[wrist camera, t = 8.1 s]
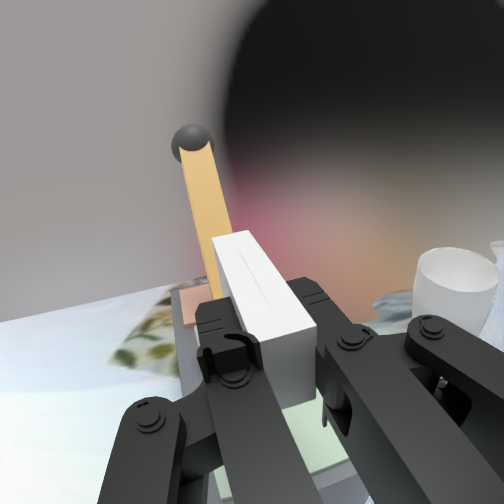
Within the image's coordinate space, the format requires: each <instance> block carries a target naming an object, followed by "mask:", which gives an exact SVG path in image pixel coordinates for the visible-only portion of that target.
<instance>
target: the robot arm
mask: <svg viewBox="0 0 504 504" xmlns="http://www.w3.org/2000/svg"><path fill="white" fill-rule="evenodd" d="M212 243H213V249H214V254H215V259H216V264H217V269H218V274H219V279H220V284H221V289H222V294H223V298H220V299H216V300H212V301H207V302H203V303H199V305H198V307H197V310H196V312H195V319H196V325H197V331H198V336H199V342H200V346H199V348H198V349H197V360H198V363H199V366H200V369H201V372H202V375H203V381H202V382H201V384H200V385H199V387H198V388H197V389H196V390H194V391H193V392H192V393H190V394H189V395H187V396H185V397H183V398H181V399H179V400H177V401H175V402H171V401H170V400H168V399H166V398H162V397H156V396H155V397H147V398H143V399H141V400H139V401H137V402H134V403H133V404H132V405H131V406H130V407H129V408H128V409H127V410H126V411H125V413H124V415H123V417H122V419H121V422H120V426H119V429H118V432H117V435H116V438H115V442H114V445H113V448H112V452H111V455H110V459H109V462H108V465H107V469H106V473H105V476H104V480H103V483H102V487H101V491H100V495H99V499H98V502H97V504H207V497H208V483H209V473H210V472H212V471H214V470H216V469H217V468H219V467H221V466H223V465H224V467H225V471H226V475H227V479H228V482H229V486H230V490H231V493H232V497H233V501H234V504H324V503H323V501H322V499H321V497H320V495H319V492H318V490H317V488H316V486H315V484H314V482H313V480H312V477H311V475H310V473H309V471H308V469H307V467H306V464H305V462H304V460H303V458H302V456H301V453H300V451H299V449H298V447H297V444H296V442H295V440H294V438H293V435H292V433H291V431H290V429H289V426H288V424H287V422H286V420H285V417H284V415H283V413H282V410H283V409H286V408H290V407H293V406H296V405H299V404H302V403H305V402H308V401H311V400H314V399H316V387H317V389H318V391H319V392H320V394H321V396H322V398H323V409H322V425H323V428H324V427H327V420H328V421H329V423H330V424H331V426H332V428H333V430H334V432H335V434H336V435H337V437H338V439H339V441H340V443H341V444H342V446H343V448H344V450H345V452H346V453H347V455H348V457H349V459H350V461H351V462H352V464H353V466H354V468H355V470H356V471H357V473H358V475H359V477H360V478H361V480H362V482H363V484H364V486H365V487H366V489H367V491H368V493H369V494H370V496H371V498H372V500H373V502H374V503H375V504H504V352H502V351H500V350H498V349H497V348H495V347H493V346H492V345H490V344H488V343H487V342H485V341H483V340H481V339H480V338H478V337H476V336H475V335H473V334H471V333H469V332H468V331H466V330H464V329H462V328H461V327H459V326H457V325H455V324H454V323H452V322H450V321H448V320H447V319H445V318H442V317H440V316H437V315H430V314H427V315H420V316H418V317H416V318H413V319H412V320H411V322H410V323H409V324H408V329H407V333H399V334H391V335H378V334H377V333H376V332H375V331H373V330H372V329H371V328H369V327H367V326H364V325H361V324H352V322H350V320H349V319H348V318H347V317H346V316H345V314H344V313H343V312H342V311H341V310H340V309H339V308H338V306H337V305H336V304H335V303H334V302H333V301H332V300H330V297H329V296H328V295H327V294H326V293H324V290H323V289H322V288H321V287H320V286H319V285H318V284H317V283H316V282H314V281H312V280H310V279H308V278H306V277H302V278H298V279H294V280H290V281H286V282H285V280H284V279H283V278H282V276H281V275H280V274H279V272H278V271H277V270H276V268H275V267H274V265H273V264H272V262H271V261H270V260H269V258H268V257H267V256H266V254H265V253H264V251H263V250H262V249H261V248H260V246H259V244H258V243H257V242H256V240H255V239H254V238H253V236H252V235H251V233H250V232H249V231H248V230H246V231H242V232H237V233H232V234H227V235H223V236H218V237H213V238H212ZM441 377H442V378H444V379H445V380H447V381H448V383H447V384H444V383H441V382H439V380H440V378H441Z"/></svg>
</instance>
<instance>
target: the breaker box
mask: <svg viewBox="0 0 504 504" xmlns="http://www.w3.org/2000/svg"><path fill="white" fill-rule="evenodd" d="M170 293H171V304H172V314H173V324H174V334H175V342H176V351H177V359H178V366H179V374H180V381H181V388H182V395H183V397H185V396H187V395H189V394H190V393H192V392H193V391H194V390H196V389H197V388H198V387H199V385H200V384H201V382H202V381H203V375H202V372H201V369H200V366H199V363H198V360H197V349H198V348H199V347H198V343H197V339H196V335H195V331H194V326H196V319H195V312H196V310H197V307H198V305H199V303H203V302H207V301H212V300H213V299H212V295H211V291H210V287H209V283H208V282H207V283H203V284H199V285H194V286H190V287H186V288H182V289H177V290H173V291H170ZM322 409H323V398H322V396H321V394H320V392H319V391H318V389H317V387H316V399H314V400H311V401H308V402H305V403H302V404H299V405H296V406H293V407H290V408H286V409H283V410H282V413H283V415H284V417H285V420H286V422H287V424H288V426H289V429H290V431H291V433H292V435H293V438H294V440H295V442H296V444H297V447H298V449H299V451H300V453H301V456H302V458H303V460H304V462H305V464H306V467H307V469H308V471H309V473H310V475H311V477H312V480H313V482H314V484H315V486H316V488H317V490H318V492H319V495H320V497H321V499H322V501H323V503H324V504H364V503H365V502H366V500H367V498H368V497H369V495H370V494H369V493H368V491H367V489H366V487H365V486H364V484H363V482H362V480H361V478H360V477H359V475H358V473H357V471H356V470H355V468H354V466H353V464H352V462H351V461H350V459H349V457H348V455H347V453H346V452H345V450H344V448H343V446H342V444H341V443H340V441H339V439H338V437H337V435H336V434H335V432H334V430H333V428H332V426H331V424H330V423H329V421H328V420H327V427H324V428H323V425H322ZM207 504H234V501H233V497H232V493H231V490H230V486H229V482H228V479H227V475H226V471H225V467H224V465H223V466H221V467H219V468H217V469H216V470H214V471H212V472H210V473H209V483H208V497H207Z"/></svg>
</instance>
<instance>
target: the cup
mask: <svg viewBox="0 0 504 504" xmlns="http://www.w3.org/2000/svg"><path fill="white" fill-rule="evenodd" d="M498 281H499V272H498V270H497V268H496V266H495V265H494V264H493V263H492V262H491V261H490V260H488V259H487V258H485V257H483V256H482V255H480V254H478V253H475V252H473V251H469V250H465V249H461V248H453V247H442V248H436V249H432V250H429V251H427V252H425V253H423V254H422V255H421V256H420V258H419V261H418V267H417V272H416V277H415V282H414V285H413V306H412V319H413V318H416V317H418V316H420V315H427V314H430V315H437V316H440V317H442V318H445V319H447V320H448V321H450V322H452V323H454V324H455V325H457V326H459V327H461V328H462V329H464V330H466V331H468V332H469V333H471V334H473V335H475V336H476V337H478V336H479V334H480V332H481V330H482V328H483V326H484V324H485V322H486V320H487V318H488V316H489V314H490V312H491V310H492V307H493V304H494V300H495V295H496V290H497V286H498ZM441 378H442V377H441ZM441 378H440V379H441Z"/></svg>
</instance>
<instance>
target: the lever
mask: <svg viewBox="0 0 504 504" xmlns="http://www.w3.org/2000/svg"><path fill="white" fill-rule="evenodd" d="M214 147H215V141H214V137H213V135H212V133H211V132H210V131H209V130H208V129H207V128H206V127H204V126H202V125H199V124H189V125H185V126H183V127H182V128H180V129H179V130H178V131H177V132H176V133H175V135H174V137H173V139H172V143H171V148H172V153H173V155H174V157H175V158H176V159H177V161H179V162H180V163H181V164H182V169H183V174H184V179H185V183H186V188H187V193H188V198H189V202H190V206H191V211H192V216H193V220H194V225H195V229H196V233H197V238H198V242H199V246H200V250H201V255H202V259H203V263H204V267H205V271H206V275H207V279H208V283H209V287H210V291H211V295H212V299H213V300H216V299H220V298H223V294H222V289H221V284H220V279H219V274H218V269H217V264H216V259H215V254H214V249H213V243H212V238H213V237H218V236H223V235H227V234H232V233H233V232H232V228H231V224H230V220H229V217H228V213H227V209H226V205H225V201H224V197H223V193H222V190H221V186H220V182H219V178H218V174H217V170H216V166H215V163H214V158H213V155H212V154H213V152H214ZM194 331H195V335H196V339H197V343H198V347H199V346H200V342H199V336H198V331H197V325H196V326H194Z"/></svg>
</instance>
